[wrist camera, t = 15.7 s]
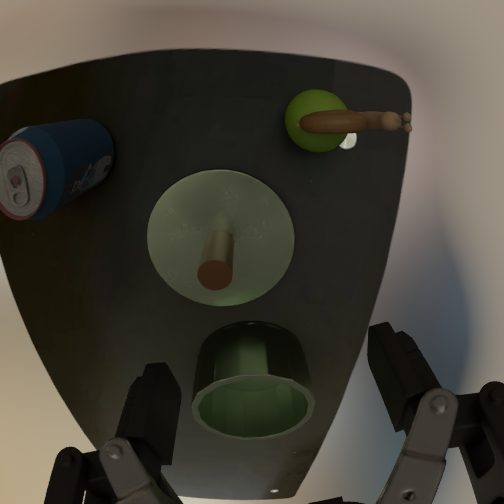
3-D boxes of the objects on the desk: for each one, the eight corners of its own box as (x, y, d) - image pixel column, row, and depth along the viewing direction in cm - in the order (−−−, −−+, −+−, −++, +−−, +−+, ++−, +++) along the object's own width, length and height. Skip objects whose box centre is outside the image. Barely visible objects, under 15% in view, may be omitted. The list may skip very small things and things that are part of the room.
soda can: (58, 126, 24) (-22, 144, 13) (115, 111, 24) (43, 117, 13) (67, 189, 27) (-4, 233, 16) (123, 180, 27) (61, 223, 16)
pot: (308, 318, 35) (323, 371, 27) (297, 389, 41) (306, 437, 33) (193, 321, 35) (182, 374, 27) (204, 392, 41) (200, 440, 33)
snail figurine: (351, 144, 26) (416, 167, 16) (286, 152, 27) (316, 178, 16) (343, 89, 24) (408, 78, 13) (276, 95, 24) (301, 80, 14)
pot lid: (296, 167, 27) (313, 184, 21) (289, 299, 34) (298, 341, 27) (142, 171, 27) (114, 190, 21) (160, 300, 33) (145, 341, 27)
